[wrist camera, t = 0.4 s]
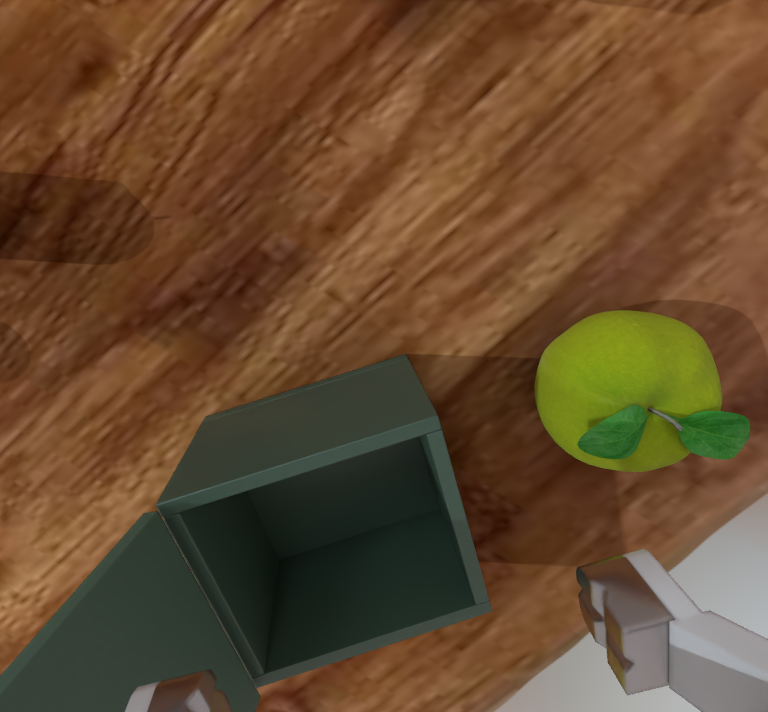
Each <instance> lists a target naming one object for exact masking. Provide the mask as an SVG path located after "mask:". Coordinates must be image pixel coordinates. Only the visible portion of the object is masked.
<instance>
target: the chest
mask: <svg viewBox="0 0 768 712" xmlns="http://www.w3.org/2000/svg"><path fill="white" fill-rule="evenodd" d="M156 507H157V509H158V511H159V512H160V514H161V516H162V517H164V518H163V519H164V521H165V523H166V525H167V527H168V529H169V531H170V532H171V534H172V536H173V538H174V540H175V541H176V543H177V545H178V547H179V549H180V550H181V552H182V554H183V556H184V558H185V559H186V561H187V563H188V565H189V567H190V569H191V570H192V572H193V574H194V576H195V578H196V579H197V581H198V583H199V585H200V587H201V588H202V590H203V592H204V594H205V596H206V597H207V599H208V601H209V603H210V605H211V606H212V608H213V610H214V612H215V614H216V616H217V617H218V619H219V621H220V623H221V625H222V626H223V628H224V630H225V632H226V634H227V635H228V637H229V639H230V641H231V643H232V644H233V646H234V648H235V650H236V652H237V654H238V655H239V657H240V659H241V661H242V663H243V664H244V666H245V668H246V670H247V672H248V673H249V675H250V677H251V680H252V681H253V683H254V685H255V687H256V688H258V687H261V686H264V685H267V684H270V683H273V682H276V681H279V680H282V679H286V678H289V677H292V676H295V675H298V674H301V673H304V672H307V671H310V670H313V669H316V668H319V667H322V666H325V665H328V664H332V663H335V662H338V661H341V660H344V659H347V658H350V657H353V656H356V655H359V654H362V653H365V652H368V651H371V650H375V649H378V648H381V647H384V646H387V645H390V644H393V643H396V642H399V641H402V640H405V639H408V638H411V637H414V636H417V635H421V634H424V633H427V632H430V631H433V630H436V629H439V628H442V627H445V626H448V625H451V624H454V623H457V622H460V621H464V620H467V619H470V618H473V617H476V616H479V615H482V614H485V613H488V612H491V611H492V608H491V605H490V601H489V598H488V594H487V590H486V587H485V583H484V579H483V576H482V572H481V569H480V565H479V561H478V558H477V554H476V550H475V547H474V543H473V540H472V536H471V532H470V529H469V525H468V521H467V518H466V514H465V511H464V507H463V503H462V500H461V496H460V492H459V489H458V485H457V482H456V478H455V474H454V471H453V467H452V463H451V460H450V456H449V453H448V449H447V445H446V442H445V438H444V434H443V431H442V429H441V424H440V420H439V416H438V414H437V412H436V411H435V409H434V407H433V405H432V403H431V401H430V399H429V397H428V395H427V393H426V391H425V390H424V388H423V386H422V384H421V382H420V380H419V378H418V376H417V374H416V372H415V370H414V369H413V367H412V365H411V363H410V361H409V359H408V357H407V355H406V354H404V355H401V356H398V357H394V358H391V359H388V360H385V361H382V362H378V363H375V364H372V365H369V366H366V367H363V368H359V369H356V370H353V371H350V372H347V373H343V374H340V375H337V376H334V377H331V378H327V379H324V380H321V381H318V382H315V383H312V384H308V385H305V386H302V387H299V388H296V389H292V390H289V391H286V392H283V393H280V394H276V395H273V396H270V397H267V398H264V399H260V400H257V401H254V402H251V403H248V404H245V405H241V406H238V407H235V408H232V409H229V410H225V411H222V412H219V413H216V414H213V415H209V416H206V417H205V418H204V420H203V422H202V424H201V425H200V427H199V429H198V431H197V432H196V434H195V436H194V438H193V440H192V441H191V443H190V445H189V447H188V448H187V450H186V452H185V454H184V455H183V457H182V459H181V461H180V463H179V464H178V466H177V468H176V470H175V471H174V473H173V475H172V477H171V478H170V480H169V482H168V484H167V486H166V487H165V489H164V491H163V493H162V494H161V496H160V498H159V500H158V501H157V503H156Z"/></svg>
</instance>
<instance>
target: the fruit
mask: <svg viewBox="0 0 768 712" xmlns="http://www.w3.org/2000/svg"><path fill="white" fill-rule="evenodd" d="M535 401H536V406H537V410H538V413H539V416H540V419H541V421H542V423H543V425H544V427H545V429H546V430H547V432H548V433H549V435H550V436H551V437H552V438H553V440H554V441H555V442H556V443H557V444H558V445H559V446H560V447H561V448H562V449H564V450H565V451H566V452H567V453H569V454H570V455H572V456H573V457H575V458H576V459H578V460H580V461H582V462H585V463H587V464H589V465H593V466H597V467H601V468H605V469H611V470H618V471H627V472H645V471H650V470H654V469H658V468H661V467H665V466H668V465H671V464H674V463H676V462H678V461H680V460H682V459H683V458H685V457H686V456H687V455H688V454H689V453H690V452H692V453H694V454H697V455H700V456H704V457H709V458H716V459H731V458H733V457H735V456H736V455H737V454H738V452H739V451H740V450H741V449H742V447H743V446H744V444H745V443H746V442H747V440H748V439H749V436H750V422H749V420H748V418H746V417H745V416H742V415H739V414H735V413H730V412H723V411H720V410H721V406H722V390H721V384H720V379H719V375H718V371H717V368H716V365H715V362H714V359H713V356H712V354H711V352H710V350H709V348H708V346H707V345H706V343H705V341H704V339H703V338H702V337H701V336H700V335H699V334H698V333H697V332H696V331H695V330H693V329H692V328H691V327H690V326H688V325H686V324H684V323H682V322H680V321H678V320H676V319H673V318H670V317H666V316H663V315H659V314H654V313H648V312H641V311H631V310H617V311H607V312H602V313H598V314H594V315H591V316H589V317H586V318H584V319H582V320H581V321H579V322H578V323H576V324H574V325H573V326H572V327H570V328H569V329H568V330H566V331H565V332H564V333H562V334H561V335H560V336H558V337H557V338H556V339H555V340H553V341H552V342H551V343H550V344H549V345H548V347H547V348H546V349H545V351H544V353H543V354H542V357H541V359H540V362H539V365H538V369H537V373H536V379H535Z"/></svg>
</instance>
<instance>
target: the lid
mask: <svg viewBox="0 0 768 712" xmlns="http://www.w3.org/2000/svg"><path fill="white" fill-rule="evenodd" d="M208 669H211V670H212V671H213V673H214V675H215V676H216V678H217V681H216V686H215V688H217V689H219V690H221V691H223V692H225V694H226V696H227V698H228V700H229V703H230V707H231V712H255V711H256V708H257V706H258V703H259V700H260V695H259V693H258V691H257V689H256V687H255V686H254V684H253V682H252V680H251V678H250V677H249V675H248V673H247V671H246V669H245V668H244V666H243V664H242V662H241V660H240V659H239V657H238V655H237V653H236V651H235V650H234V648H233V646H232V644H231V642H230V641H229V639H228V637H227V635H226V633H225V631H224V630H223V628H222V626H221V624H220V622H219V621H218V619H217V617H216V615H215V613H214V612H213V610H212V608H211V606H210V604H209V603H208V601H207V599H206V597H205V595H204V594H203V592H202V590H201V588H200V586H199V585H198V583H197V581H196V579H195V577H194V576H193V574H192V572H191V570H190V568H189V566H188V565H187V563H186V561H185V559H184V557H183V556H182V554H181V552H180V550H179V548H178V547H177V545H176V543H175V541H174V539H173V538H172V536H171V534H170V532H169V530H168V529H167V527H166V525H165V523H164V521H163V520H162V518H161V516H160V514H159V512H158V511H155V512H149V513H144V514H143V515H142V516H141V517H140V518H139V519H138V520H137V521H136V523H135V524H134V525H133V526H132V527H131V528H130V529H129V531H128V532H127V533H126V534H125V535H124V536H123V537H122V538H121V540H120V541H119V542H118V543H117V544H116V545H115V546H114V547H113V549H112V550H111V551H110V552H109V553H108V554H107V555H106V557H105V558H104V559H103V560H102V561H101V562H100V563H99V564H98V566H97V567H96V568H95V569H94V570H93V571H92V572H91V574H90V575H89V576H88V577H87V578H86V579H85V580H84V581H83V583H82V584H81V585H80V586H79V587H78V588H77V589H76V591H75V592H74V593H73V594H72V595H71V596H70V597H69V598H68V600H67V601H66V602H65V603H64V604H63V605H62V606H61V608H60V609H59V610H58V611H57V612H56V613H55V614H54V615H53V617H52V618H51V619H50V620H49V621H48V622H47V623H46V624H45V626H44V627H43V628H42V629H41V630H40V631H39V632H38V634H37V635H36V636H35V637H34V638H33V639H32V640H31V641H30V643H29V644H28V645H27V646H26V647H25V648H24V649H23V651H22V652H21V653H20V654H19V655H18V656H17V657H16V658H15V660H14V661H13V662H12V663H11V664H10V665H9V666H8V668H7V669H6V670H5V671H4V672H3V673H2V674H1V675H0V712H125V710H126V707H127V705H128V702H129V700H130V697H131V695H132V694H133V693H134V691H135V690H136V689H137V687H139V686H143V685H147V684H151V683H155V682H159V681H162V680H166V679H171V678H175V677H179V676H183V675H187V674H191V673H195V672H199V671H203V670H208Z"/></svg>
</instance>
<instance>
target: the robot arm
mask: <svg viewBox="0 0 768 712" xmlns="http://www.w3.org/2000/svg"><path fill="white" fill-rule="evenodd" d="M576 576H577V581H578V583H579V584H580V586H581V588H582V590H581V592H580V593H579V595H578V596H579V603H580V608H581V611H582V614H583V617H584V620H585V622H586V624H587V626H588V628H589V631H590V632H591V634H592V636H593V638H594V639H595V641H596V642H597V643H598V644H600V645H602V646H603V647H605V648H606V649H607V658H608V664H609V665H610V666H611V669H612V670H613V672H614V674H615V675H616V677H617V679H618V681H619V682H620V684H621V686H622V687H623V689H624V691H625V692H626V694H627V695H631V694H635V693H639V692H643V691H647V690H651V689H655V688H659V687H663V686H667V685H669V688H670V689H672V690H673V691H674V692H676V693H677V694H678V695H680V696H681V697H683V698H684V699H685V700H687V701H688V702H689V703H691V704H692V705H693V706H695V707H696V708H697V709H699V710H700V711H701V712H768V639H766V638H764V637H762V636H760V635H758V634H756V633H754V632H752V631H750V630H748V629H746V628H744V627H742V626H740V625H738V624H736V623H734V622H732V621H730V620H728V619H726V618H724V617H722V616H720V615H717V614H715V613H713V612H712V611H706V612H702V611H701V610H700V609H699V608H698V607H697V605H696V604H695V603H694V602H693V601H692V600H691V599H690V598H689V596H688V595H687V594H686V593H685V592H684V591H683V589H682V588H681V587H680V586H679V585H678V584H677V583H676V581H674V579H673V578H672V577H671V576H670V575H669V573H668V572H667V571H666V570H665V569H664V568H663V567H662V565H661V564H660V563H659V562H658V561H657V560H656V559H655V558H654V556H653V555H652V554H651V553H650V552H649V551H647V550H645V549H642V550H638V551H634V552H631V553H627V554H623V555H621V556H620V555H618V556H614V557H611V558H607V559H604V560H600V561H597V562H594V563H590V564H587V565H583V566H580V567H577V570H576ZM216 681H217V678H216V676H215V675H214V673H213V671H212V670H211V669H208V670H203V671H199V672H195V673H191V674H187V675H183V676H179V677H175V678H171V679H166V680H162V681H159V682H155V683H151V684H147V685H143V686H139V687H137V689H136V690H135V691H134V693H133V694H132V695H131V697H130V700H129V702H128V705H127V707H126V710H125V712H231V707H230V703H229V700H228V698H227V696H226V694H225V692H223V691H221V690H219V689H217V688H215V686H216Z"/></svg>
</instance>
